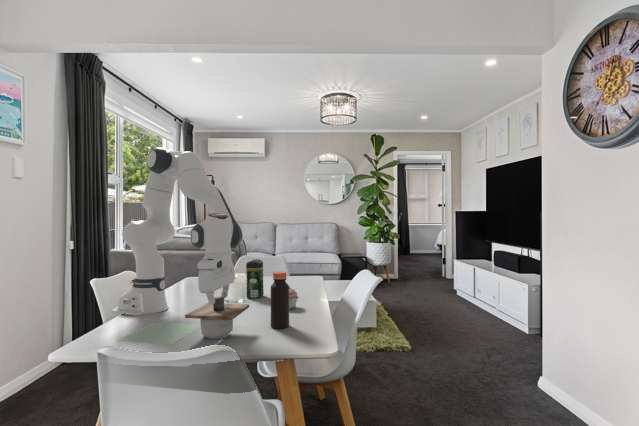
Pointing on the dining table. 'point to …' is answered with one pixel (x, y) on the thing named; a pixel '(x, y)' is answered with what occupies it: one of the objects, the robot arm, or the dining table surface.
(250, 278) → the coffee jar
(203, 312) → the lid
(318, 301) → the dining table surface
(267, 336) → the dining table surface
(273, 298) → the bottle
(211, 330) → the teacup
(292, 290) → the cupcake
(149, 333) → the mat
